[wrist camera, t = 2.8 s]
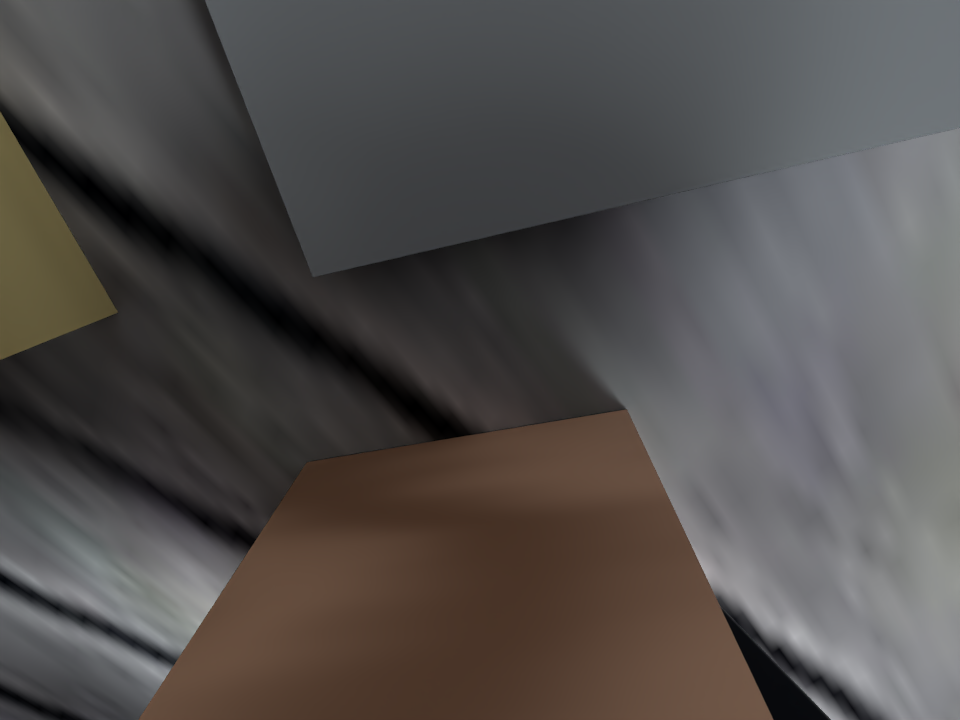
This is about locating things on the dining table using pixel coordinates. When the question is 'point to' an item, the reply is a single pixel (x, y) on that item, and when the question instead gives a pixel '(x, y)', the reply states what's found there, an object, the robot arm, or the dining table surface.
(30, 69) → the dining table surface
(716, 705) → the terracotta brick
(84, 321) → the ochre brick
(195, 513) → the dining table surface
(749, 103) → the charcoal baseplate
